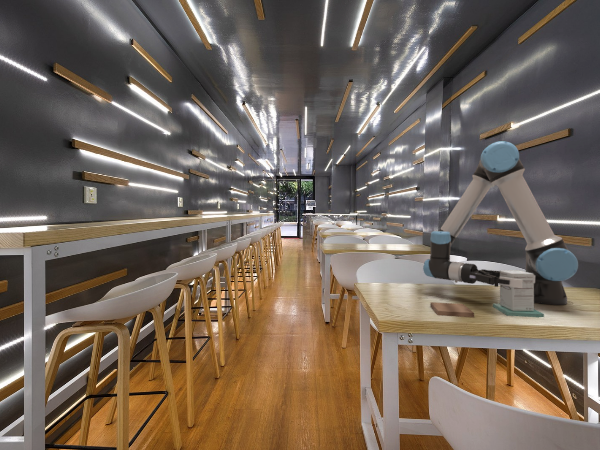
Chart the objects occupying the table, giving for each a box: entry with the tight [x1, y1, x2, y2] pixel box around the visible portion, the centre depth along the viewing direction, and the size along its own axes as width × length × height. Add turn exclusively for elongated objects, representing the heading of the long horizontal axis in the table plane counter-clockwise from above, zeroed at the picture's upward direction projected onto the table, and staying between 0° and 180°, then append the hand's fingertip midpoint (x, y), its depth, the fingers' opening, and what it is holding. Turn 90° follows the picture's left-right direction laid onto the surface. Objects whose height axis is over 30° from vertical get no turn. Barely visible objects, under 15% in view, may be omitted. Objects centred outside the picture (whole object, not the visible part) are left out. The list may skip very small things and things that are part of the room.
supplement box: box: [499, 269, 535, 311], centre depth 111 cm, size 7×7×13 cm
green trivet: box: [492, 303, 545, 318], centre depth 111 cm, size 11×11×2 cm
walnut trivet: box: [429, 301, 475, 318], centre depth 110 cm, size 11×11×2 cm
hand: (528, 281), depth 108 cm, fingers open, 13 cm apart
